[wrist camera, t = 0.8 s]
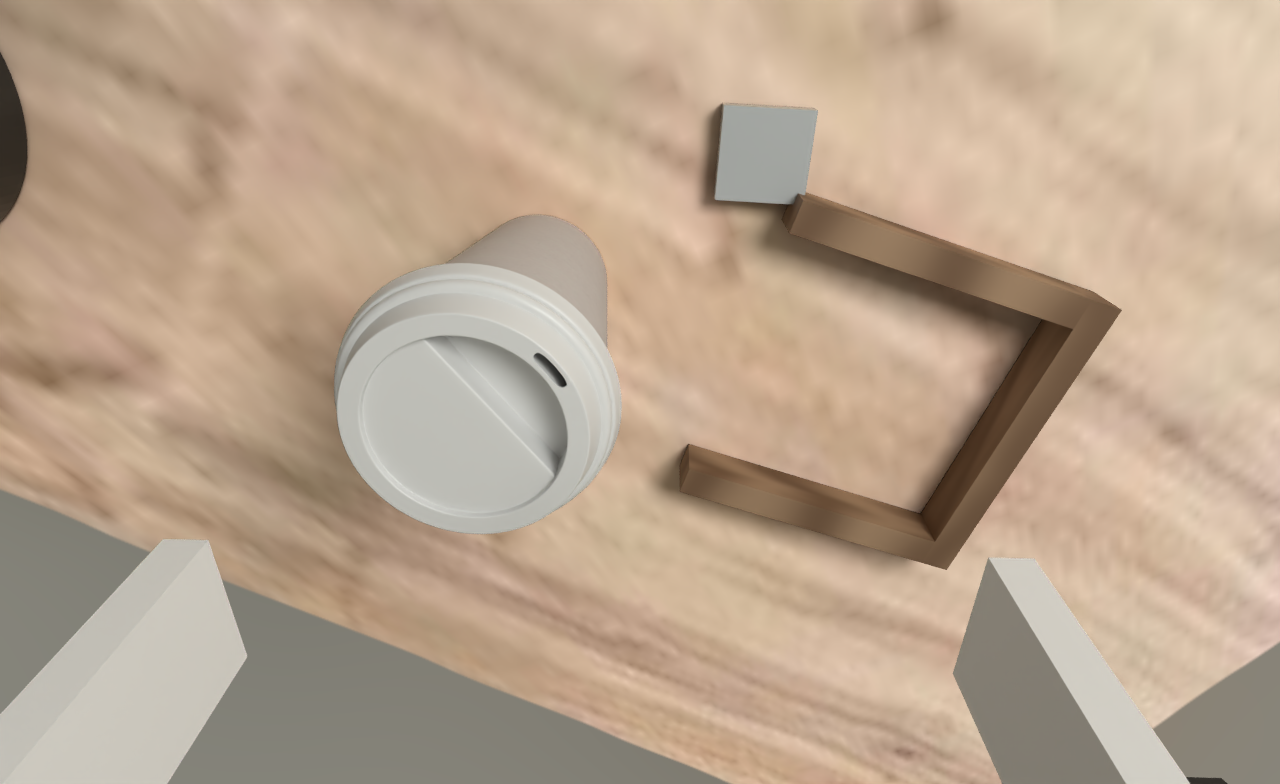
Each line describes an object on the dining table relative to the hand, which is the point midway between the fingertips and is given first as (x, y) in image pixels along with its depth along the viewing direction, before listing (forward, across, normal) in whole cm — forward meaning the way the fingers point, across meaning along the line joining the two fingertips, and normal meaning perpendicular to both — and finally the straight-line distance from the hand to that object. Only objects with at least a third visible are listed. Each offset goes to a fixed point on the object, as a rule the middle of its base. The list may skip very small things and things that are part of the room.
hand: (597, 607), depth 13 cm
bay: (+24, +12, -8) cm, 28 cm away
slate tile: (+25, +6, +4) cm, 26 cm away
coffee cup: (+25, -4, -3) cm, 26 cm away
